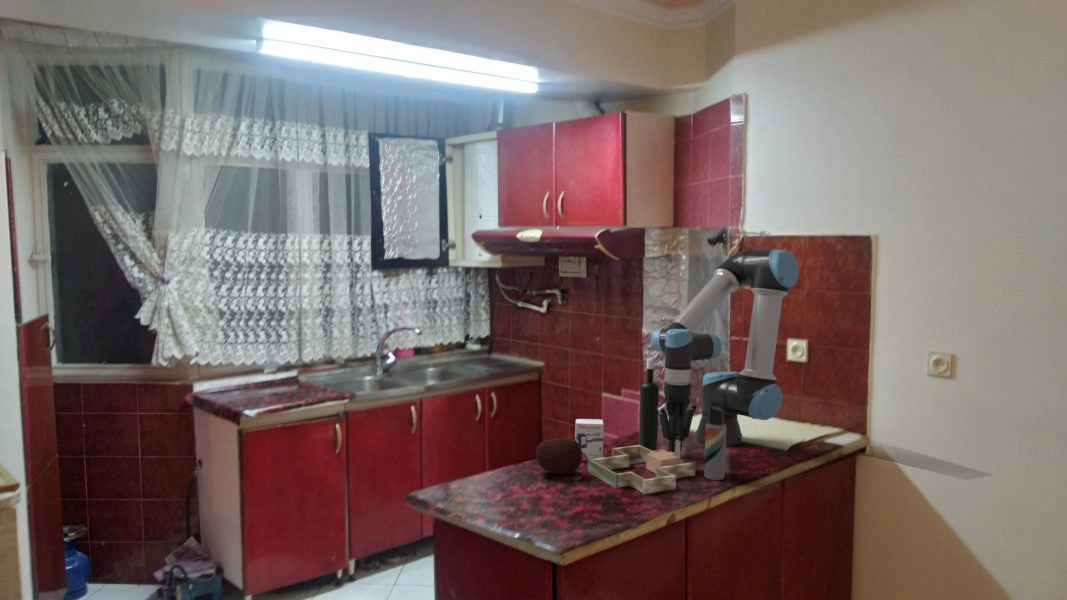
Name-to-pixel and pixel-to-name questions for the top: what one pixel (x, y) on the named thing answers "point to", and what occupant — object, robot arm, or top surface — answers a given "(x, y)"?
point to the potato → (559, 455)
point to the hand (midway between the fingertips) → (674, 462)
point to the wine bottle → (649, 410)
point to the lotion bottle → (715, 445)
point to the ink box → (590, 438)
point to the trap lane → (632, 456)
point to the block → (661, 460)
